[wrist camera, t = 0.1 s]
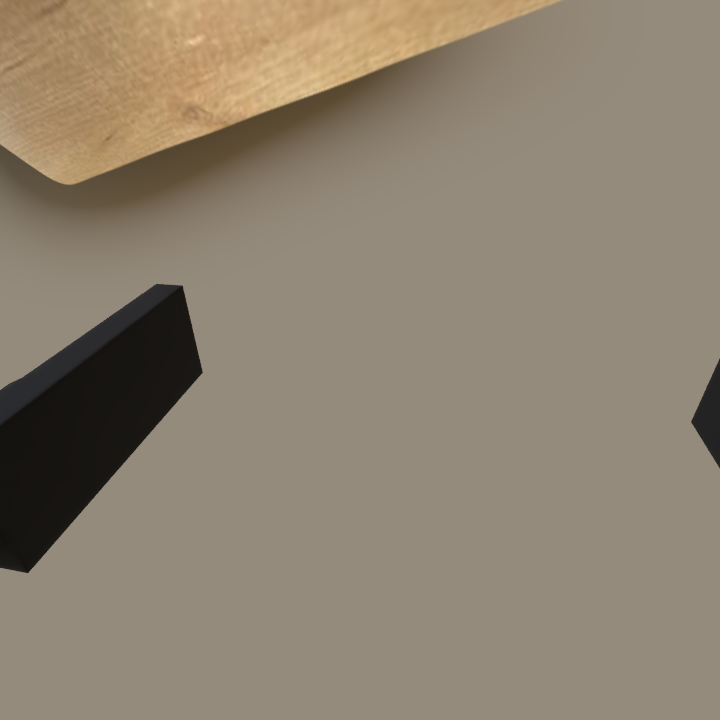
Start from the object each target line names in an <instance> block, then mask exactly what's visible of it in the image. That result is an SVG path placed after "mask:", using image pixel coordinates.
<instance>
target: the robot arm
mask: <svg viewBox="0 0 720 720" xmlns="http://www.w3.org/2000/svg"><path fill="white" fill-rule="evenodd" d="M201 374H202V368H201V363H200V359H199V355H198V350H197V346H196V342H195V338H194V333H193V329H192V324H191V320H190V316H189V311H188V307H187V303H186V298H185V294H184V291H183V286H178V285H164V284H156V285H154V286H153V287H152V288H150V289H149V290H147V291H146V292H144V293H143V294H141V295H140V296H139V297H137V298H136V299H135V300H133V301H132V302H130V303H129V304H127V305H126V306H124V307H123V308H122V309H120V310H119V311H117V312H116V313H114V314H113V315H111V316H110V317H109V318H107V319H106V320H104V321H103V322H101V323H100V324H99V325H97V326H96V327H94V328H93V329H91V330H90V331H88V332H87V333H86V334H84V335H83V336H82V337H80V338H79V339H77V340H76V341H74V342H73V343H71V344H70V345H68V346H67V347H66V348H64V349H63V350H62V351H60V352H58V353H57V354H56V355H54V356H53V357H51V358H50V359H48V360H47V361H46V362H44V363H43V364H41V365H40V366H38V367H37V368H36V369H34V370H33V371H31V372H30V373H28V374H27V375H26V376H24V377H23V378H21V379H19V380H17V381H14V382H12V383H10V384H8V385H7V386H5V387H4V388H3V389H1V390H0V568H5V569H10V570H15V571H20V572H25V573H29V571H30V570H31V569H32V568H33V567H34V566H35V565H36V563H37V562H38V561H39V560H40V559H41V558H42V556H43V555H44V554H45V553H46V552H47V551H48V550H49V548H50V547H51V546H52V545H53V544H54V542H55V541H56V540H57V539H58V538H59V537H60V536H61V535H62V533H63V532H64V531H65V530H66V529H67V528H68V527H69V525H70V524H71V523H72V522H73V521H74V520H75V519H76V517H77V516H78V515H79V514H80V513H81V512H82V510H83V509H84V508H85V507H86V506H87V505H88V504H89V502H90V501H91V500H92V499H93V498H94V497H95V495H96V494H97V493H98V492H99V491H100V490H101V489H102V487H103V486H104V485H105V484H106V483H107V482H108V481H109V479H110V478H111V477H112V476H113V475H114V474H115V473H116V471H117V470H118V469H119V468H120V467H121V466H122V465H123V463H124V462H125V461H126V460H127V459H128V458H129V457H130V455H131V454H132V453H133V452H134V451H135V450H136V448H137V447H138V446H139V445H140V444H141V443H142V442H143V440H144V439H145V438H146V437H147V436H148V435H149V433H150V432H151V431H152V430H153V429H154V428H155V426H156V425H157V424H158V423H159V422H160V421H161V420H162V418H163V417H164V416H165V415H166V414H167V413H168V412H169V410H170V409H171V408H172V407H173V406H174V405H175V404H176V403H177V401H178V400H179V399H180V398H181V397H182V395H183V394H184V393H185V392H186V391H187V390H188V389H189V388H190V386H191V385H192V384H193V383H194V382H195V381H196V379H197V378H198V377H199V376H200V375H201ZM691 422H692V424H693V426H694V427H695V429H696V430H697V432H698V434H699V435H700V437H701V439H702V440H703V442H704V443H705V445H706V446H707V448H708V450H709V452H710V453H711V455H712V456H713V458H714V460H715V461H716V463H717V464H718V466H719V468H720V359H719V362H718V364H717V366H716V368H715V371H714V373H713V375H712V377H711V379H710V381H709V384H708V386H707V388H706V390H705V392H704V395H703V397H702V399H701V401H700V403H699V406H698V408H697V410H696V412H695V415H694V417H693V419H692V421H691Z"/></svg>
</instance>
